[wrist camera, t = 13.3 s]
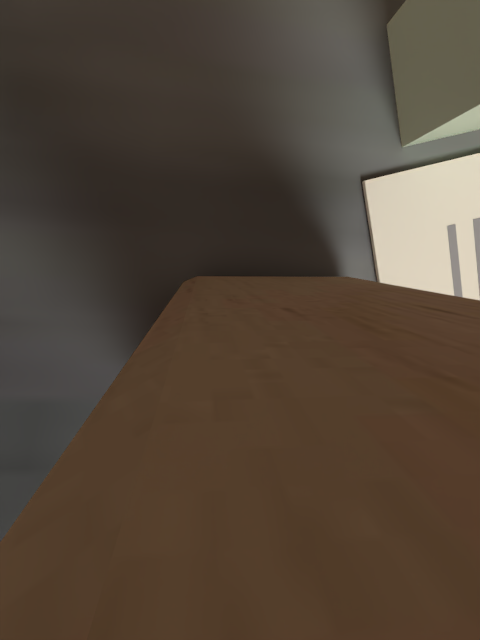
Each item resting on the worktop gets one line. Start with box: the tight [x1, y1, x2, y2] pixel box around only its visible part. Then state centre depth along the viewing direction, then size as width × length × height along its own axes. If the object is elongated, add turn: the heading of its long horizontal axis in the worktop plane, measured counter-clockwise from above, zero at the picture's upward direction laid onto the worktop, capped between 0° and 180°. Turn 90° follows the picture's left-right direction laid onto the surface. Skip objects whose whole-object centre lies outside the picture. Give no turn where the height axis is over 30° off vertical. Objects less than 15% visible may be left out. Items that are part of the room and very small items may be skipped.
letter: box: [362, 153, 480, 300], centre depth 20 cm, size 16×11×1 cm
